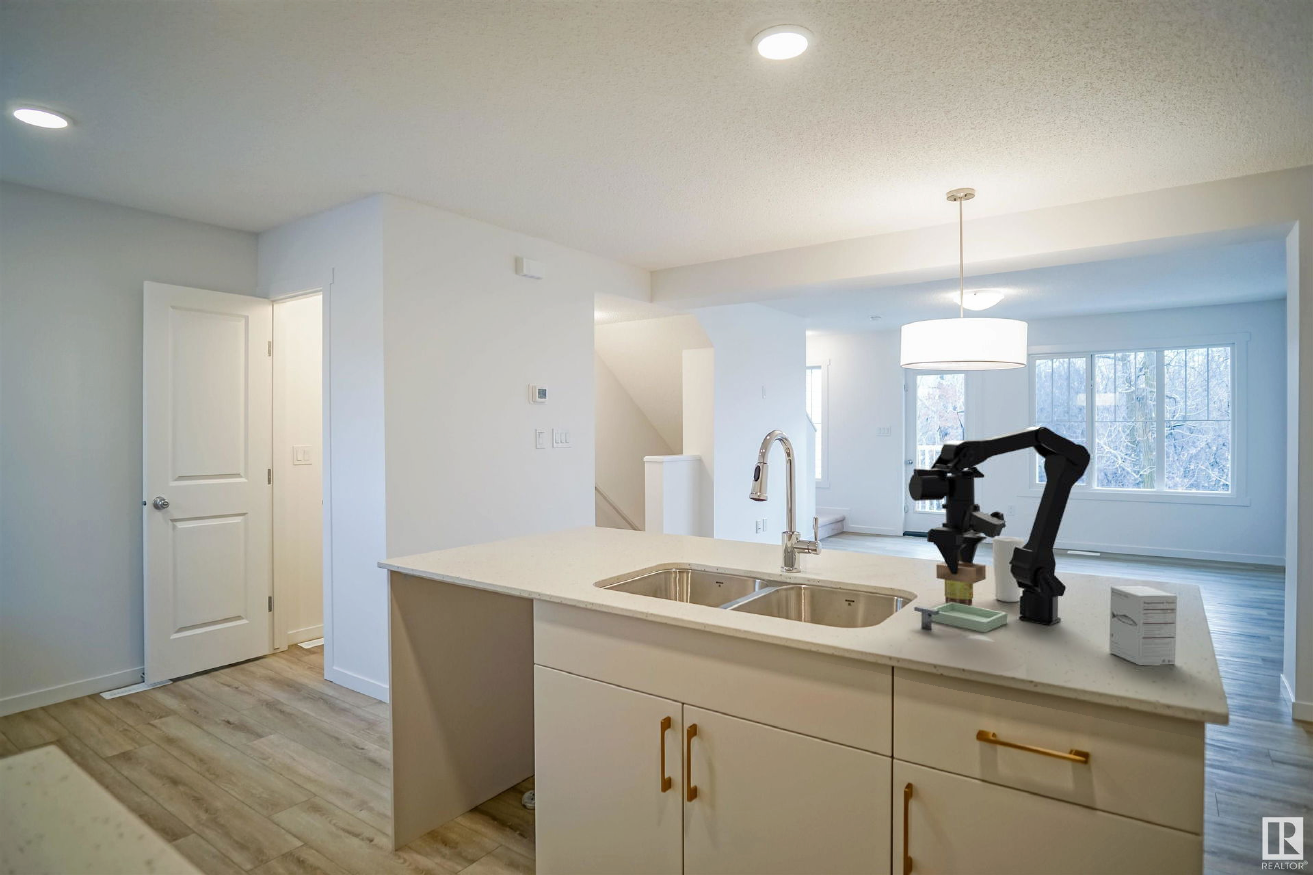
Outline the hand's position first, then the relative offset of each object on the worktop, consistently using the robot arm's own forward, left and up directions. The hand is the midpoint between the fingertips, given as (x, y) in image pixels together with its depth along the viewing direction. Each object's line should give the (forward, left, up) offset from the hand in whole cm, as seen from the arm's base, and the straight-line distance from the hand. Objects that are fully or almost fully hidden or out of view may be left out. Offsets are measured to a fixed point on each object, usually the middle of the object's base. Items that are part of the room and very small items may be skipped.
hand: (961, 571), depth 150 cm
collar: (0, 0, -2) cm, 2 cm away
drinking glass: (+2, -28, -11) cm, 30 cm away
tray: (0, -2, -11) cm, 11 cm away
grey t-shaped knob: (+3, +10, -11) cm, 15 cm away
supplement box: (-32, -2, -11) cm, 34 cm away
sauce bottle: (+8, -15, -11) cm, 20 cm away
